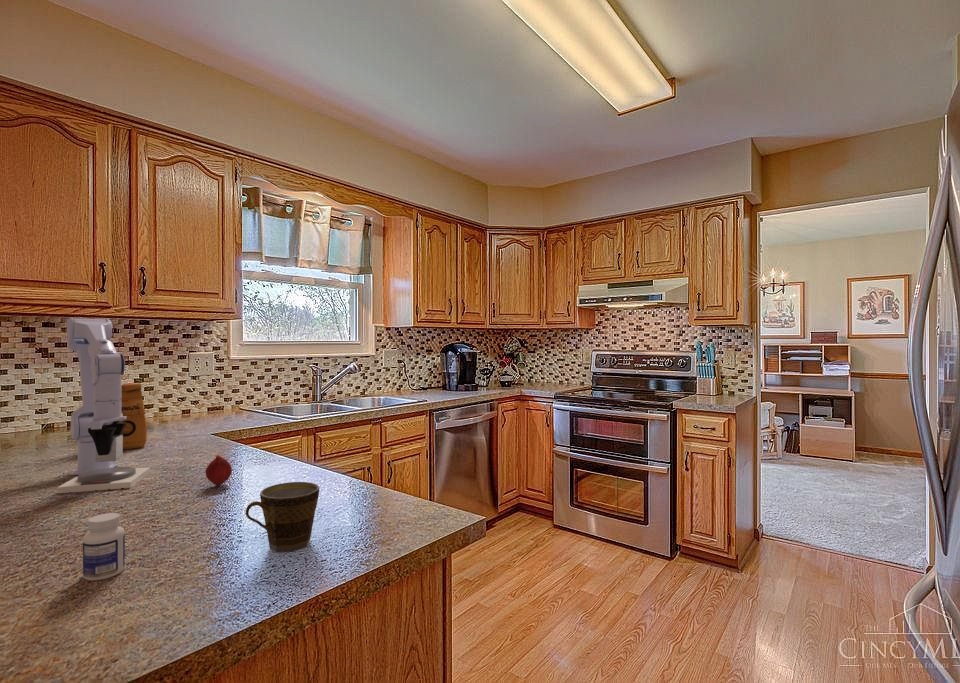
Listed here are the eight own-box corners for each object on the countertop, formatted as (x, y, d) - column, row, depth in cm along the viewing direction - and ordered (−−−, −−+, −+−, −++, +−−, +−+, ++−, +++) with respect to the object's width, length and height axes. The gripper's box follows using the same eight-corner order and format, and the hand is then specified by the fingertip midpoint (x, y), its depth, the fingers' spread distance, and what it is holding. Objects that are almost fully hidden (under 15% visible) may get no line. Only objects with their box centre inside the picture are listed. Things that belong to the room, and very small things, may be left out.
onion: (236, 483, 127) (236, 452, 127) (222, 489, 122) (222, 457, 122) (215, 482, 128) (215, 451, 128) (200, 488, 122) (200, 456, 122)
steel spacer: (102, 458, 129) (103, 435, 129) (122, 457, 130) (122, 434, 130) (95, 462, 125) (95, 438, 125) (115, 461, 126) (116, 437, 126)
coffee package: (148, 448, 168) (148, 384, 168) (102, 453, 160) (102, 386, 160) (144, 443, 176) (145, 382, 176) (101, 448, 168) (101, 384, 168)
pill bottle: (98, 566, 80) (98, 511, 80) (132, 565, 80) (132, 510, 80) (73, 582, 75) (74, 523, 75) (110, 581, 75) (110, 522, 75)
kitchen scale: (85, 477, 132) (85, 467, 132) (150, 472, 137) (150, 463, 137) (57, 493, 118) (57, 483, 118) (130, 487, 123) (130, 477, 123)
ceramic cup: (300, 530, 96) (300, 478, 96) (330, 543, 89) (330, 488, 89) (232, 551, 86) (232, 494, 86) (260, 568, 79) (260, 506, 79)
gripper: (114, 403, 122) (114, 457, 122) (135, 396, 136) (135, 446, 136) (80, 404, 120) (80, 459, 120) (105, 397, 133) (105, 447, 133)
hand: (107, 452), depth 127 cm, fingers closed on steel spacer, 4 cm apart
